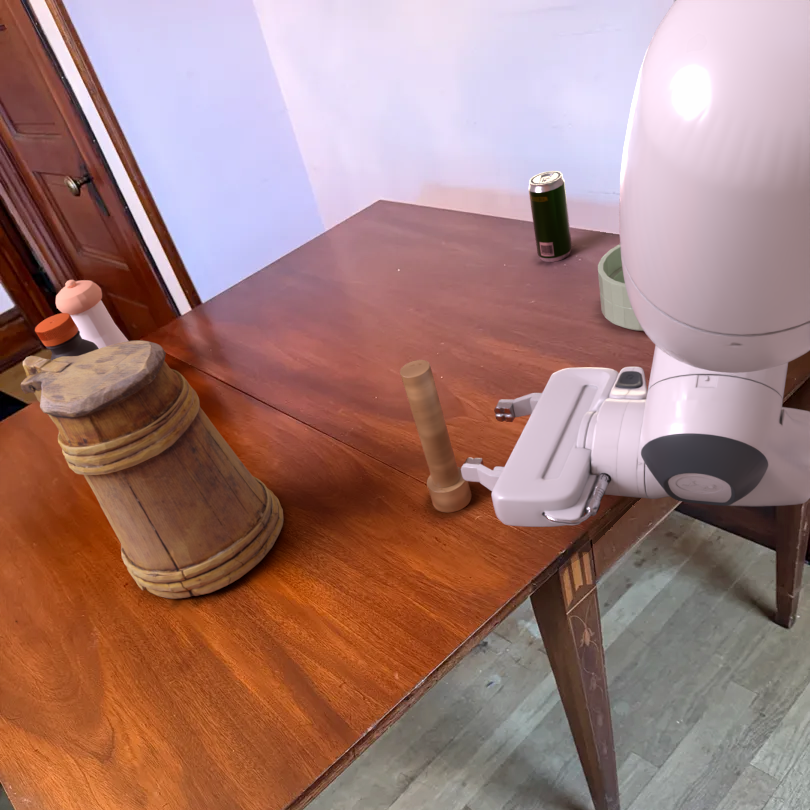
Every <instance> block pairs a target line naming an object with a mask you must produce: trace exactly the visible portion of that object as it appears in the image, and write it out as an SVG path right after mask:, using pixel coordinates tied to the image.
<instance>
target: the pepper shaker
mask: <svg viewBox="0 0 810 810" xmlns="http://www.w3.org/2000/svg"><path fill="white" fill-rule="evenodd" d="M64 285H65V286H63V287H62V288H61V289H60V290H59V291H58V293H57V294H56V295H55V306H56V309H58V311H59V312H60V313H68V314H70V316H71V318H72V319H73V321H74V322H75V324H76V326H77V327H78V330H79V331H80V337H81V338H82V339H85V340H88V341H91V342H93V343H95V344H96V345H97V347H98V348H99V349H100V348H103V347H106V346H110V345H113V344H116V343H121V342H127V341H129V340H128V338H127V336H125V334H124V333H123V332H122V331H121V330H120V328H119V327H118V325H117V324H116V323H115V321H114V319H113V318H112V316H111V315H110V313H109V311H108V309H107V308H106V306H105V304H104V302H103V301H102V299H103V291H102V288H101V287H100V286H99V285H98V284H97V283H96V282H94V281H93V280H90V279H89V280H88V279H87V280H85V279H83V280H74V279H69V280H66V282H65V284H64Z"/></svg>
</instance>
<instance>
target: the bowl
mask: <svg viewBox="0 0 810 810" xmlns="http://www.w3.org/2000/svg"><path fill="white" fill-rule="evenodd" d="M597 271H598V272H597V274H598V286H599V297H600V309H601V313H602V315H603V316H604V318H605V319H606V320H607V321H609V322H610V323H612V324H613V325H616V326H618V327H621V328H623V329H627V330H632V331H637V332H638V331H639V332H644V330H643V329H642V327H641V325H640V324H639V322H638V320H637V318H636V316H635V314H634V311H633V309H632V306H631V304H630V301H629V297H628V294H627V290H626V286H625V281H624V275H623V268H622V260H621V248H620V243H619V244H617V245H615V246H614V247H612V248H611V249H609V250H608V251H607V252H606V253H605V254H604V255H603V256H602V257H601V258H600V260H599V262H598V264H597Z"/></svg>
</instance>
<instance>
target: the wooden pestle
mask: <svg viewBox="0 0 810 810" xmlns="http://www.w3.org/2000/svg"><path fill="white" fill-rule="evenodd" d="M431 366H432V365H431V363H430V362H429V361H427V360H425V359H417V360H412V361H410V362H406V363H405V364H404V365H402V366H401V368H400V369H399V374H400V378H401V381H402V385H403V388H404V392H405V394H406V398H407V401H408V404H409V407H410V412H411V414H412V418H413V421H414V424H415V425H414V426H415V428H416V431H417V434H418V438H419V441H420V444H421V447H422V451H423V454H424V457H425V460H426V464H427V468H428V471H429V474H430V475H429V476H428V478H427V479H426V487H427V489H428V493H429V497H430V500H431V502H432V506H433V508H434V509H435V510H436V511H438V512H442V513H446V514H447V513H455V512H458V511H461V510H463V509H464V508H465V507H466V506H468V505H469V503H471V500H472V497H473V496H472V495H473V494H472V491H471V486H470V483H469V481H466V480H464V479H463V477H462V473H461V468H462V467H460V466H458V463H457V460H456V456H455V453H454V449H453V445H452V441H451V437H450V433H449V430H448V427H447V423H446V419H445V415H444V412H443V408H442V403H441V401H440V397H439V393H438V390H437V385H436V382H435V377H434V374H433V371H432V367H431Z"/></svg>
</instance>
